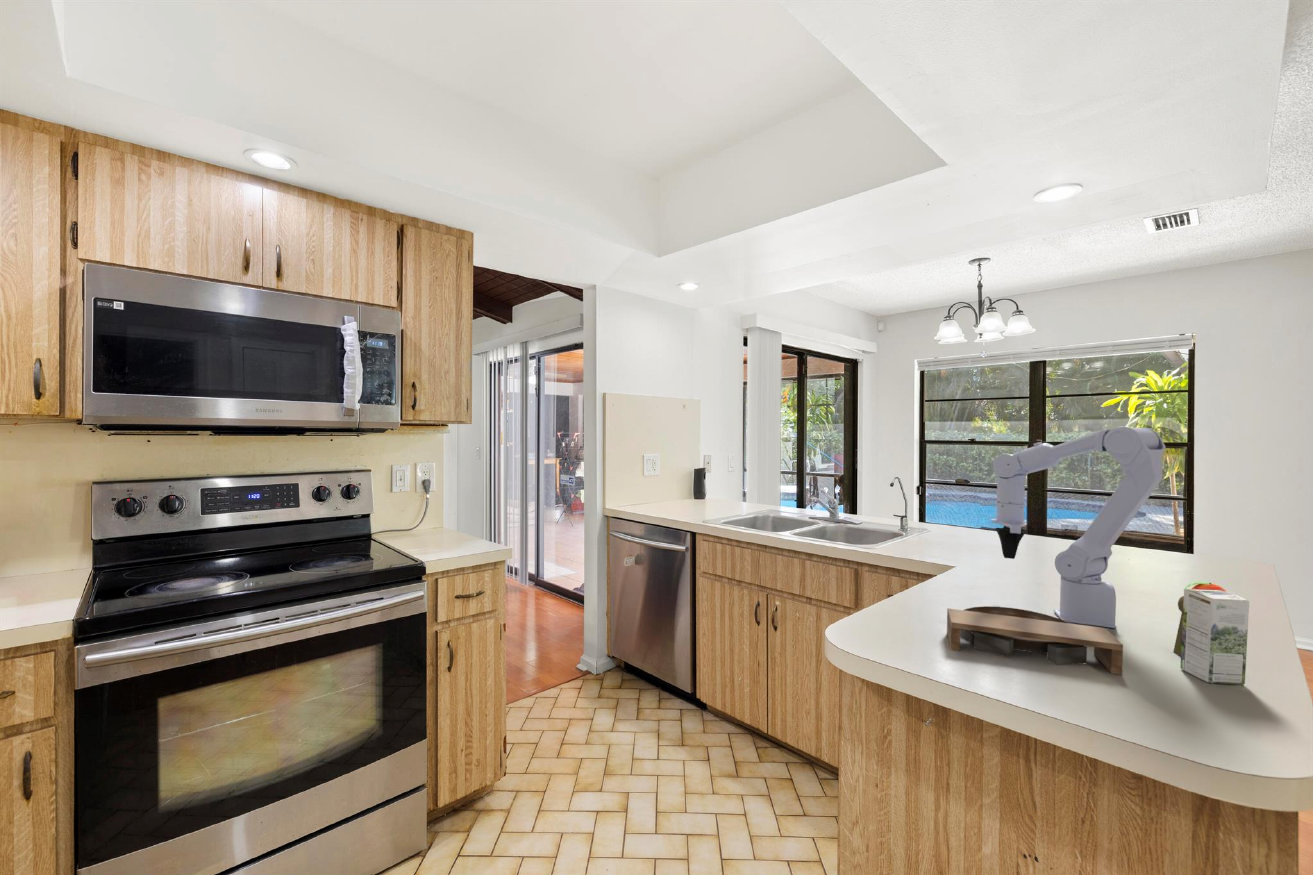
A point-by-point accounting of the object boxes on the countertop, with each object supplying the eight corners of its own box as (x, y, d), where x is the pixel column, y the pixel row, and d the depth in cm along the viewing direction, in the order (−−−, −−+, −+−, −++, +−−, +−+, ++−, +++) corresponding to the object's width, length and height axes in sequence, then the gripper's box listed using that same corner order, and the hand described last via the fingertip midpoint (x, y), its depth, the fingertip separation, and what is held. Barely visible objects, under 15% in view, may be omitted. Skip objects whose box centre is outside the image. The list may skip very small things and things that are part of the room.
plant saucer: (969, 649, 107) (970, 632, 107) (950, 615, 126) (950, 600, 126) (1099, 665, 100) (1100, 647, 100) (1058, 627, 119) (1058, 611, 119)
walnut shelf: (1103, 655, 104) (1104, 627, 104) (1122, 675, 95) (1122, 644, 95) (946, 633, 114) (947, 608, 114) (951, 649, 106) (951, 622, 106)
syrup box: (1215, 671, 98) (1217, 588, 97) (1247, 686, 92) (1250, 598, 92) (1179, 669, 98) (1182, 587, 98) (1209, 684, 92) (1212, 597, 92)
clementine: (1186, 613, 129) (1187, 583, 129) (1178, 605, 135) (1179, 576, 135) (1235, 620, 125) (1236, 588, 125) (1224, 611, 131) (1225, 581, 131)
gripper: (987, 498, 145) (985, 550, 146) (996, 505, 132) (995, 562, 132) (1018, 500, 143) (1017, 553, 143) (1031, 507, 129) (1030, 565, 130)
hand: (1009, 557), depth 137 cm, fingers closed
